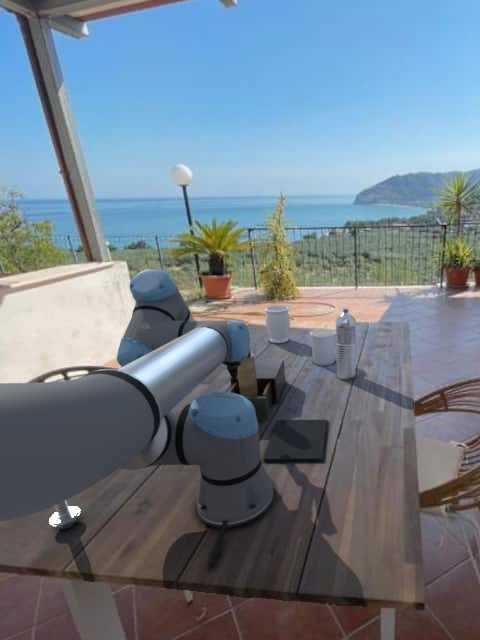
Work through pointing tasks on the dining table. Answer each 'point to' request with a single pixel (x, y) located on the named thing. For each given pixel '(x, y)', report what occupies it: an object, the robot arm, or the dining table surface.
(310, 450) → the placemat
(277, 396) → the cabinet
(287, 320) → the jar
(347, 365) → the water bottle
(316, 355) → the candle holder
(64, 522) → the screw
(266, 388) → the drawer
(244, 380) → the pepper mill
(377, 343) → the dining table surface
